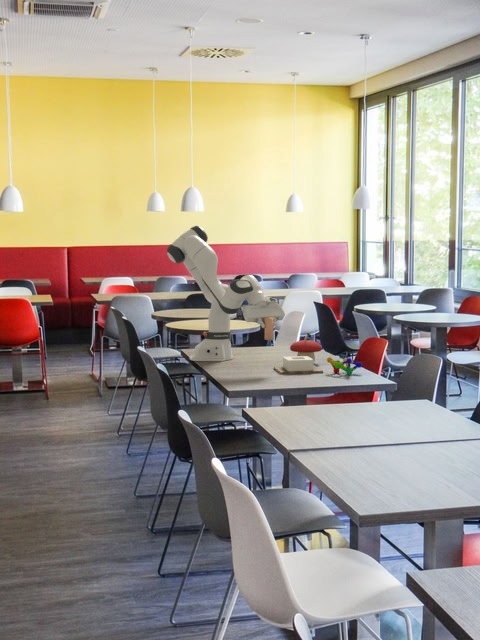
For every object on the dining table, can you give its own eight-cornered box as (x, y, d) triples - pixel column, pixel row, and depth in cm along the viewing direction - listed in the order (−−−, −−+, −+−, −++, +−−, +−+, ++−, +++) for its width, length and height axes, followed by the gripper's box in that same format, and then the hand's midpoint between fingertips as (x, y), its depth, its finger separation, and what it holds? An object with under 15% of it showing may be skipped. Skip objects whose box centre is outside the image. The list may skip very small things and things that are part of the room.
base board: (280, 374, 390) (280, 372, 390) (273, 368, 405) (273, 366, 405) (323, 372, 393) (323, 370, 393) (314, 367, 408) (314, 365, 408)
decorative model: (342, 361, 400) (365, 356, 389) (342, 380, 398) (366, 375, 386) (322, 357, 392) (345, 352, 381) (322, 376, 390) (345, 371, 379)
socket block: (288, 371, 392) (288, 360, 392) (282, 367, 404) (282, 356, 403) (313, 370, 394) (313, 359, 393) (307, 366, 406) (307, 356, 405)
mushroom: (323, 365, 414) (323, 335, 413) (290, 365, 414) (290, 335, 413) (320, 361, 430) (320, 331, 428) (289, 361, 430) (289, 331, 429)
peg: (265, 340, 391) (265, 318, 390) (263, 339, 395) (263, 317, 394) (274, 339, 392) (274, 318, 391) (272, 338, 396) (272, 317, 395)
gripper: (241, 300, 393) (252, 323, 385) (279, 298, 402) (290, 321, 395) (237, 309, 397) (247, 332, 389) (275, 307, 407) (285, 329, 399)
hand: (269, 326), depth 392 cm, fingers closed on peg, 4 cm apart
